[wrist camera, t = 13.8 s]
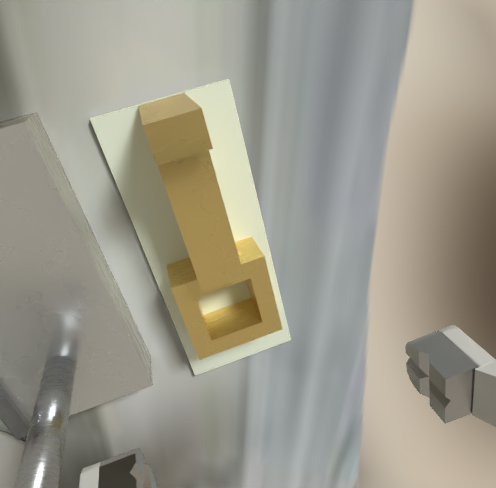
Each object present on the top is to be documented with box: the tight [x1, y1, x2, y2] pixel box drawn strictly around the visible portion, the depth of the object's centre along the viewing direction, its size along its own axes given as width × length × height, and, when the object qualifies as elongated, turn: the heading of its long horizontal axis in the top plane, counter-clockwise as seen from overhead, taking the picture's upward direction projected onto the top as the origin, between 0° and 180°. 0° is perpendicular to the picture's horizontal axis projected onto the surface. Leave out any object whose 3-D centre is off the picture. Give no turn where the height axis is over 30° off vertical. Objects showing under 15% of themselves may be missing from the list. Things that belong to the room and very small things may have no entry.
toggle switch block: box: [0, 113, 153, 488], centre depth 21 cm, size 18×9×12 cm, turn 14°
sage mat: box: [90, 79, 291, 376], centre depth 28 cm, size 20×8×1 cm, turn 14°
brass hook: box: [138, 93, 282, 360], centre depth 24 cm, size 16×6×6 cm, turn 14°
